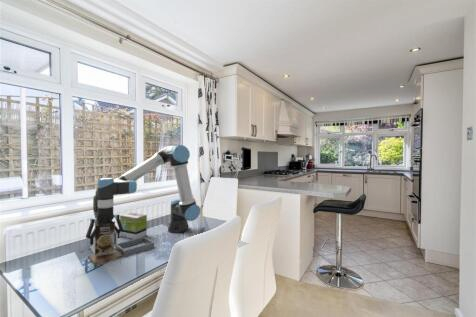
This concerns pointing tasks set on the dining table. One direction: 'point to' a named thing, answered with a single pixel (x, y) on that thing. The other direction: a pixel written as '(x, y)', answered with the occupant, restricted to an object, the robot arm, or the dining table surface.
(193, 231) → the dining table surface
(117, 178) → the robot arm
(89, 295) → the dining table surface
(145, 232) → the tea box
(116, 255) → the board
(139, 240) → the bin
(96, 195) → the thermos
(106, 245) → the coffee box
